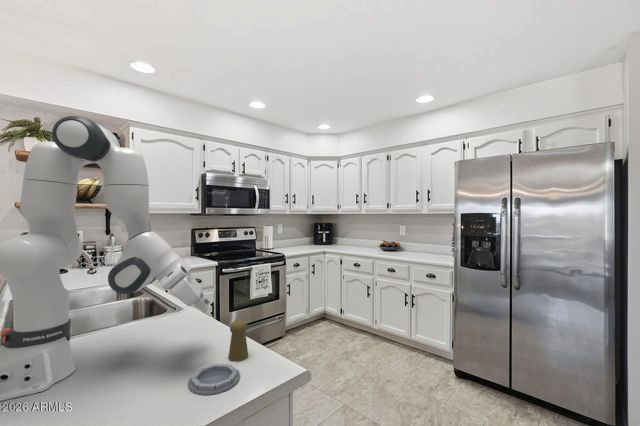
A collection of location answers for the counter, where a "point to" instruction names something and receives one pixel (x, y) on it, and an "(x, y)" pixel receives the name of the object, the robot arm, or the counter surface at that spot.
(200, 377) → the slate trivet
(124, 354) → the counter surface
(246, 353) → the olive brown pepper mill
